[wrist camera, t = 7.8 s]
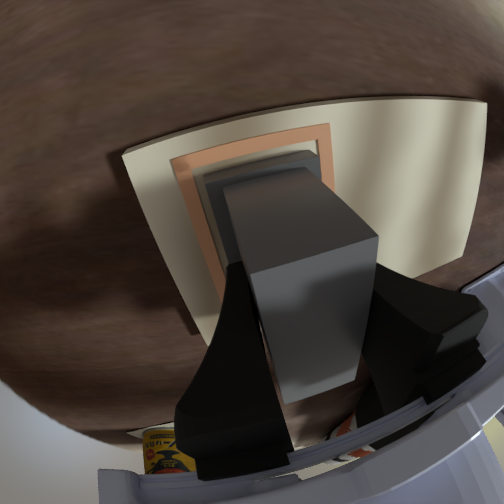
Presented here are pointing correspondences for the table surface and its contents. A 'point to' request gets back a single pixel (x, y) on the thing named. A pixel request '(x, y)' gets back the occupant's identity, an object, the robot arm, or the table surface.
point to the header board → (324, 168)
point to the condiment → (163, 451)
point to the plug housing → (305, 277)
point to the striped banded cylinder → (365, 414)
